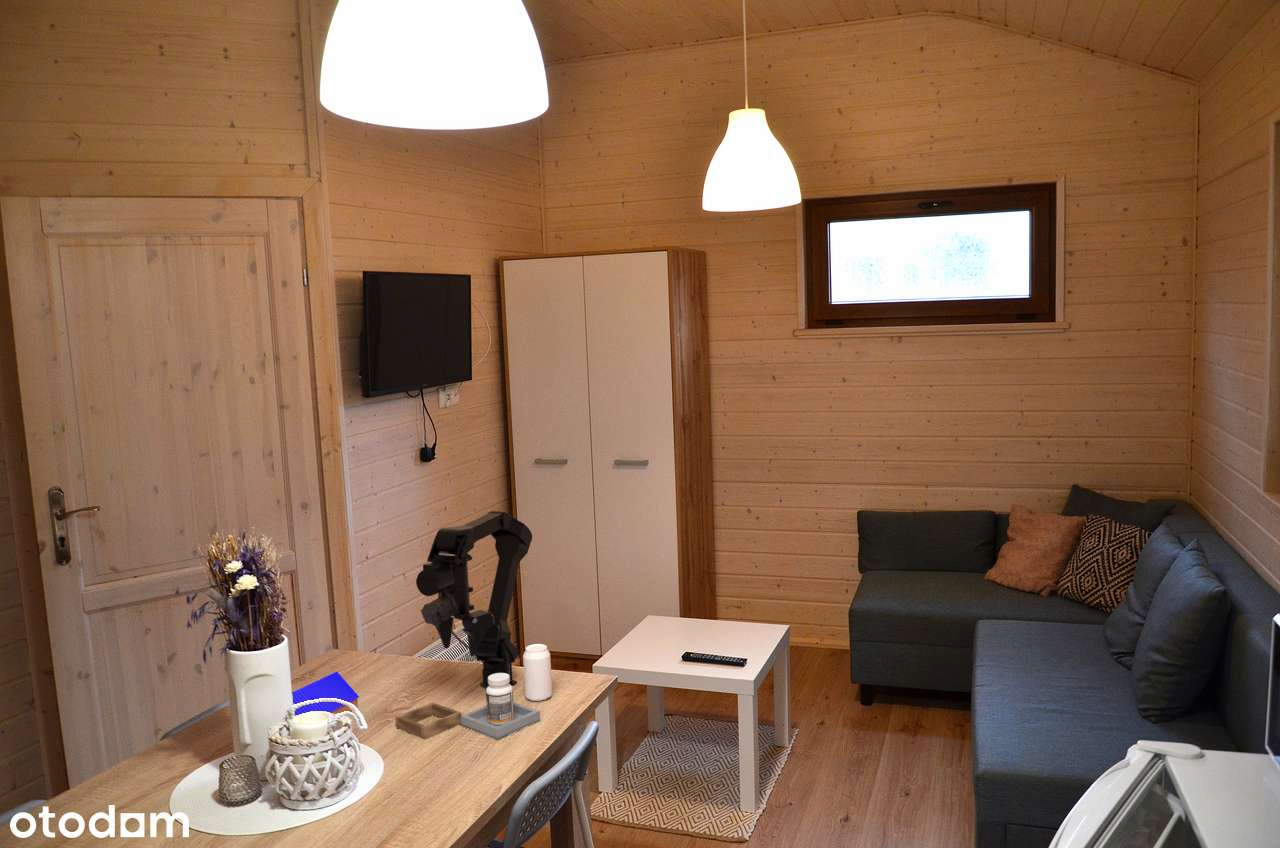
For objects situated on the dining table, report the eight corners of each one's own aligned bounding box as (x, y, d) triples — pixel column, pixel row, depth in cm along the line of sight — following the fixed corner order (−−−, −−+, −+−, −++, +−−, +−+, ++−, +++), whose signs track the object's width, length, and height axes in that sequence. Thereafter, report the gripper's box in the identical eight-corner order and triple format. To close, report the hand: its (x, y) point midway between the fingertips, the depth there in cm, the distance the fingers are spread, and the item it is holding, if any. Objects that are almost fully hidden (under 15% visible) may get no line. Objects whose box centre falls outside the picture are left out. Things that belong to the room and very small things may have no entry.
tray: (503, 708, 223) (502, 698, 223) (540, 721, 215) (539, 710, 215) (461, 726, 214) (460, 716, 214) (498, 740, 206) (497, 729, 206)
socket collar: (433, 713, 222) (432, 702, 222) (462, 723, 215) (461, 712, 215) (396, 728, 214) (395, 717, 214) (424, 739, 208) (423, 728, 207)
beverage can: (553, 692, 231) (550, 642, 230) (551, 702, 225) (548, 651, 224) (526, 693, 231) (523, 643, 230) (524, 703, 225) (521, 652, 224)
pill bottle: (491, 715, 218) (488, 671, 216) (517, 715, 217) (514, 671, 216) (484, 726, 212) (482, 681, 211) (510, 726, 211) (508, 681, 210)
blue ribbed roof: (361, 726, 217) (357, 674, 215) (292, 764, 199) (287, 708, 198) (320, 718, 222) (316, 668, 221) (249, 755, 204) (244, 700, 203)
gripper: (400, 586, 221) (405, 653, 223) (453, 599, 209) (457, 670, 211) (440, 575, 230) (444, 640, 231) (493, 587, 217) (497, 656, 219)
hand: (459, 651), depth 223 cm, fingers open, 9 cm apart
